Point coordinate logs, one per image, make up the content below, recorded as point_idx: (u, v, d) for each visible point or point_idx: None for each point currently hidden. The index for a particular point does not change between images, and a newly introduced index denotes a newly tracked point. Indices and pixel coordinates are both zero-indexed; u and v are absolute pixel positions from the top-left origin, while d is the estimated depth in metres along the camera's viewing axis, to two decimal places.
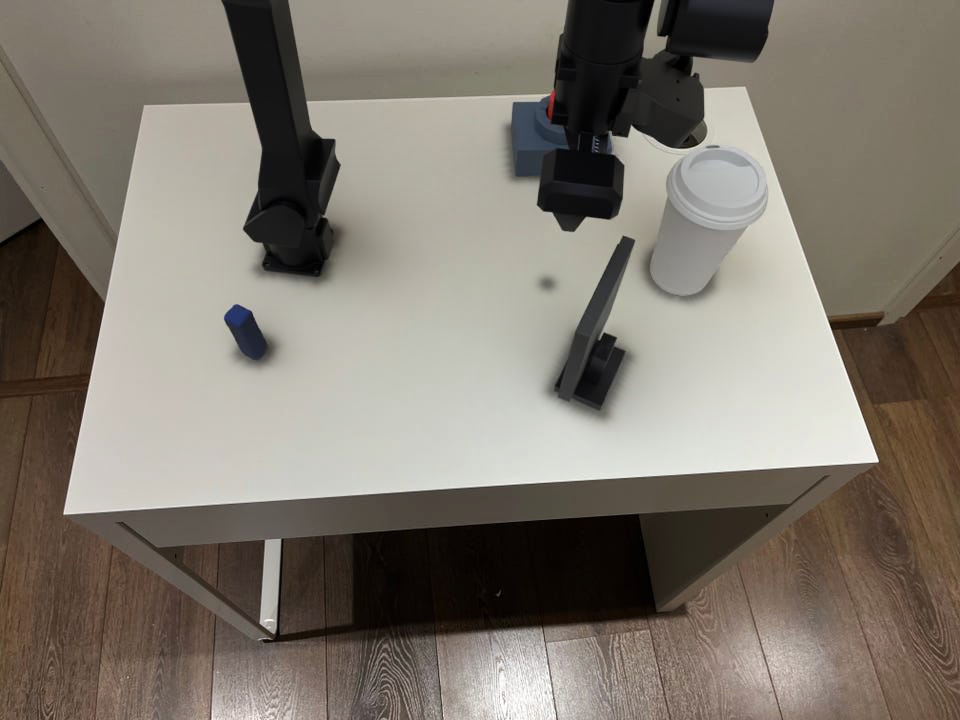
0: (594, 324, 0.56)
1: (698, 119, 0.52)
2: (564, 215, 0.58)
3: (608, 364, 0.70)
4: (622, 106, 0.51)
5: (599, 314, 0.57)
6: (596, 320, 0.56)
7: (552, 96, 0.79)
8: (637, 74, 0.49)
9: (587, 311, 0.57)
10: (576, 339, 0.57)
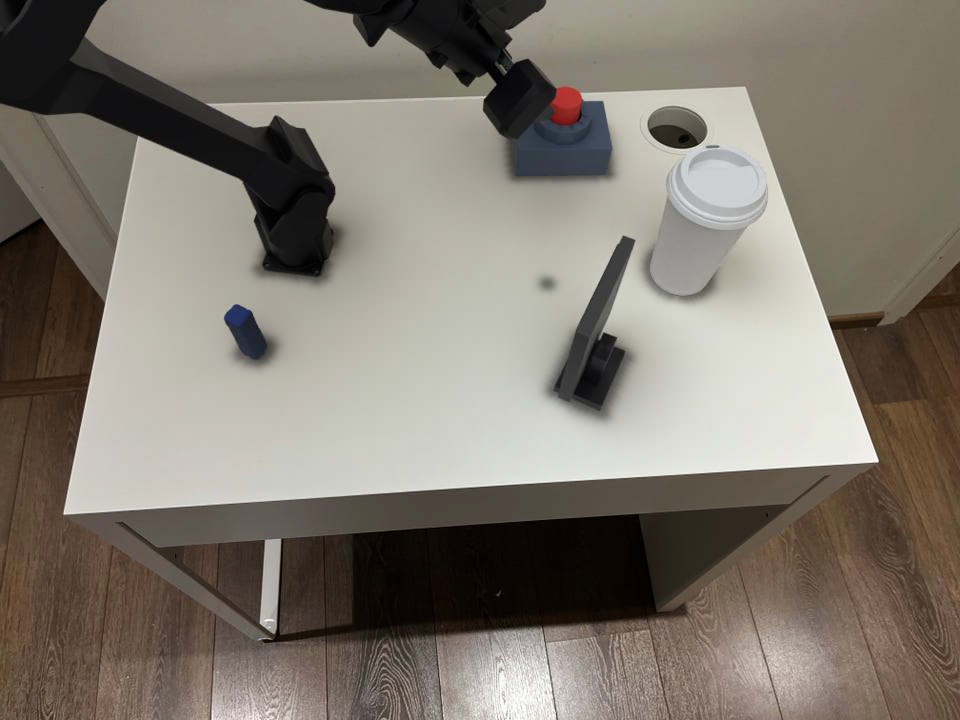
0: (594, 324, 0.56)
1: None
2: None
3: (608, 364, 0.70)
4: (487, 32, 0.62)
5: (599, 314, 0.57)
6: (596, 320, 0.56)
7: None
8: (472, 11, 0.60)
9: (587, 311, 0.57)
10: (576, 339, 0.57)
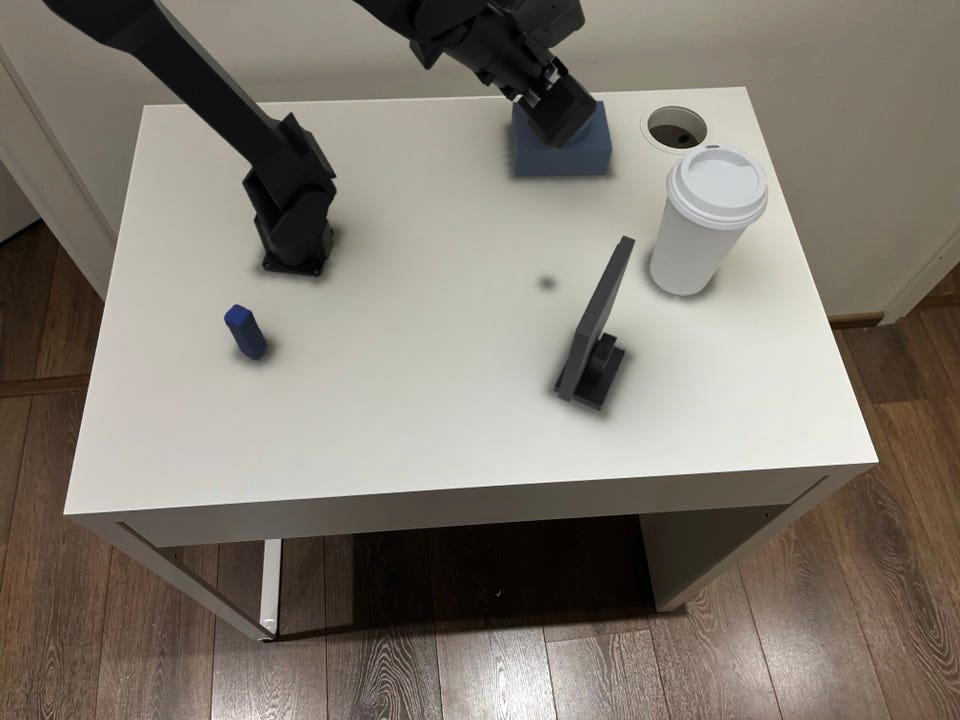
0: (594, 324, 0.56)
1: (575, 1, 0.65)
2: None
3: (608, 364, 0.70)
4: (532, 51, 0.67)
5: (599, 314, 0.57)
6: (596, 320, 0.56)
7: None
8: (518, 33, 0.65)
9: (587, 311, 0.57)
10: (576, 339, 0.57)
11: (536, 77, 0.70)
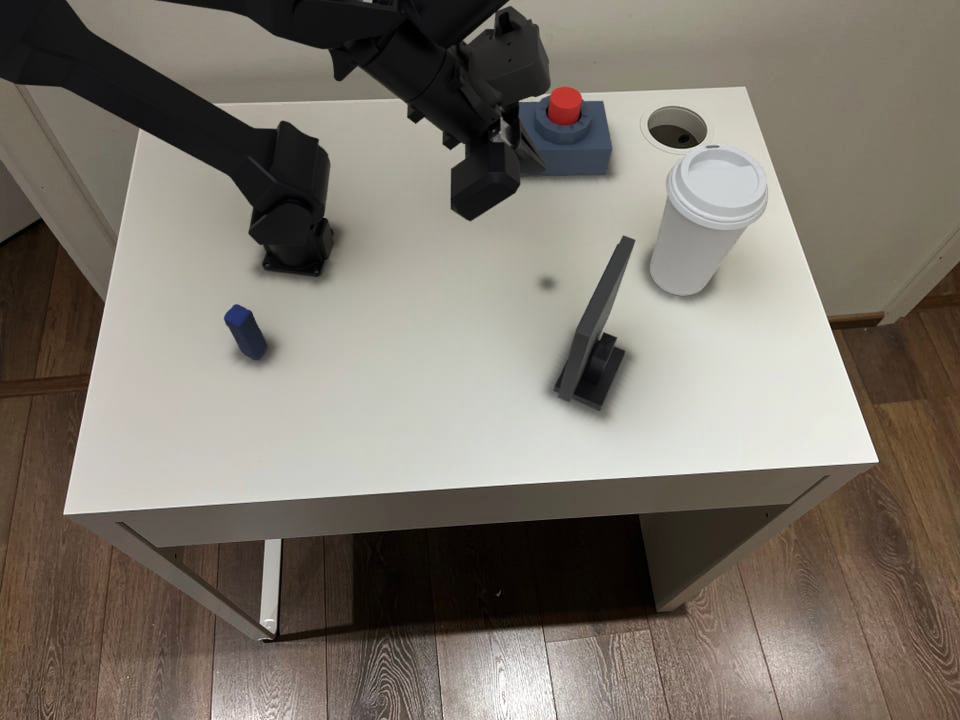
0: (594, 324, 0.56)
1: (531, 62, 0.54)
2: None
3: (608, 364, 0.70)
4: None
5: (599, 314, 0.57)
6: (596, 320, 0.56)
7: (552, 96, 0.79)
8: (454, 76, 0.55)
9: (587, 311, 0.57)
10: (576, 339, 0.57)
11: (478, 133, 0.59)
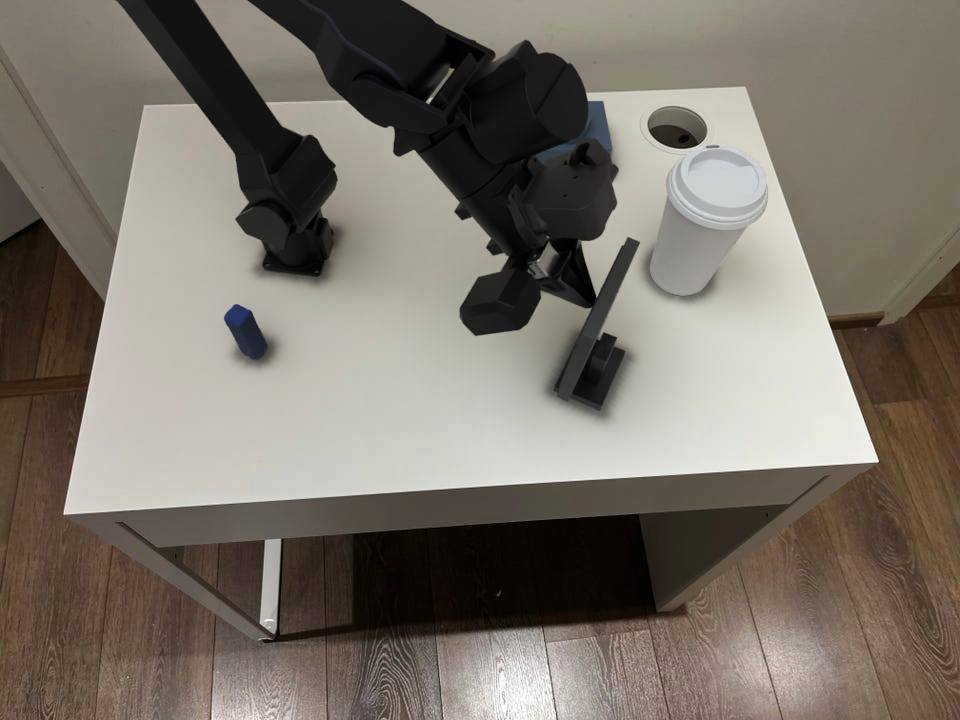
0: (599, 326, 0.56)
1: (581, 207, 0.49)
2: (561, 293, 0.60)
3: (608, 364, 0.70)
4: None
5: (604, 316, 0.56)
6: (601, 322, 0.56)
7: None
8: (503, 191, 0.51)
9: (592, 313, 0.57)
10: (580, 341, 0.57)
11: (519, 252, 0.55)
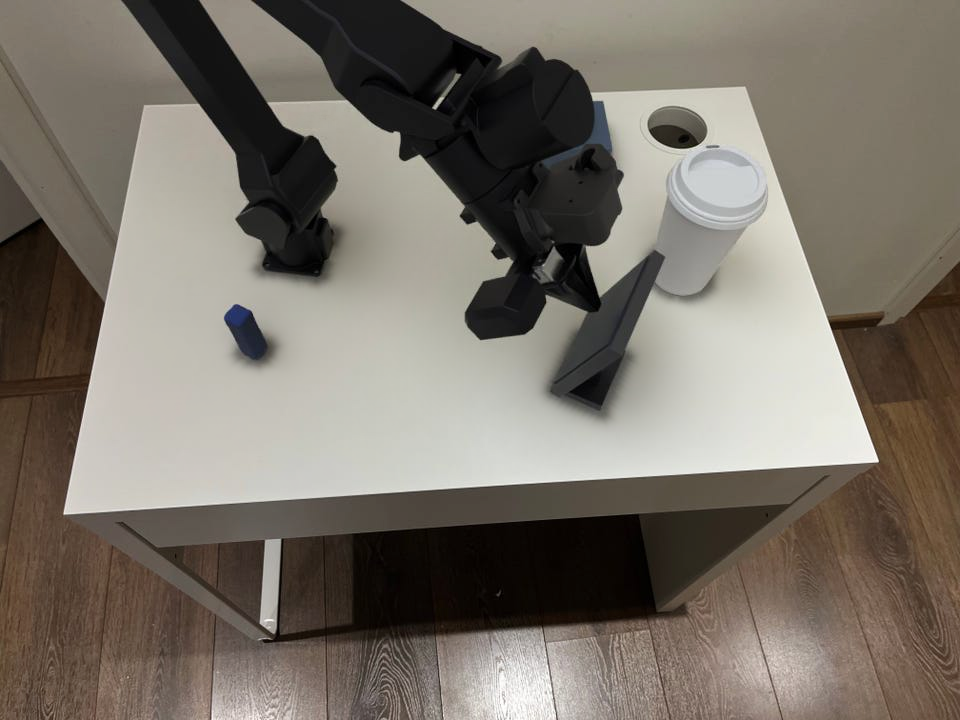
0: (626, 342, 0.56)
1: (587, 213, 0.49)
2: (565, 298, 0.60)
3: None
4: None
5: (631, 332, 0.57)
6: (628, 338, 0.56)
7: None
8: (509, 196, 0.51)
9: (620, 327, 0.56)
10: (605, 353, 0.56)
11: (524, 256, 0.55)
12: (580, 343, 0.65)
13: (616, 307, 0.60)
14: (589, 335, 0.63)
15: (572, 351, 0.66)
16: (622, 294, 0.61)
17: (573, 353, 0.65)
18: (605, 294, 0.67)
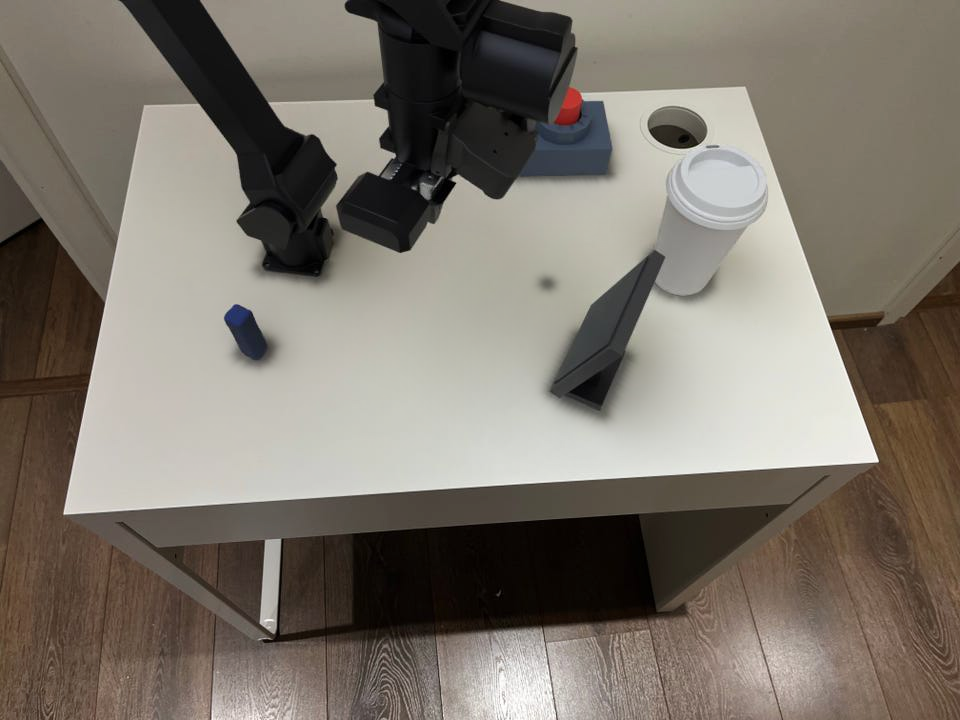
0: (626, 342, 0.56)
1: (508, 175, 0.51)
2: None
3: None
4: None
5: (631, 332, 0.57)
6: (628, 338, 0.56)
7: None
8: (444, 117, 0.49)
9: (620, 327, 0.56)
10: (605, 353, 0.56)
11: (416, 166, 0.54)
12: (580, 343, 0.65)
13: (616, 307, 0.60)
14: (589, 335, 0.63)
15: (572, 351, 0.66)
16: (622, 294, 0.61)
17: (573, 353, 0.65)
18: (605, 294, 0.67)
